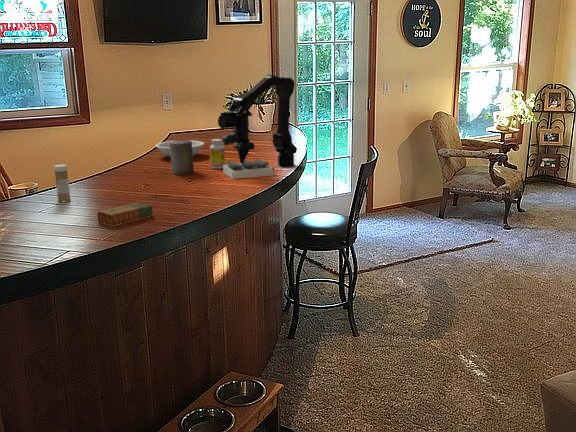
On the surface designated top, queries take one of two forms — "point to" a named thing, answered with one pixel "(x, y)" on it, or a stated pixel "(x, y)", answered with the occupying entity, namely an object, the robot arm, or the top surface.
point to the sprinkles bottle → (62, 182)
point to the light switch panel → (247, 171)
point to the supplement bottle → (217, 154)
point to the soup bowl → (165, 147)
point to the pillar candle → (181, 157)
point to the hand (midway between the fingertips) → (241, 163)
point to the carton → (124, 213)
